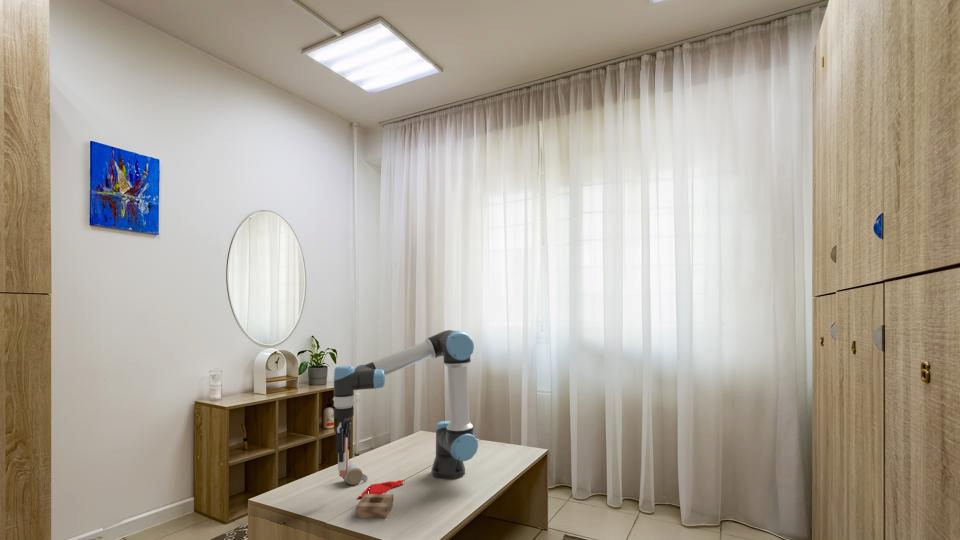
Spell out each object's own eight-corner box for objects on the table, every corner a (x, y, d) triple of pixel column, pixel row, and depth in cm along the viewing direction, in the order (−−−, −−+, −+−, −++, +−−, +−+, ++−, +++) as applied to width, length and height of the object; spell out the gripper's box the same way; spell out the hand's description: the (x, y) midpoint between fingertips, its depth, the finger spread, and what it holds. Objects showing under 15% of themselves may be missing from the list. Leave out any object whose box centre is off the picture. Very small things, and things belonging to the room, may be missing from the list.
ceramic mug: (346, 487, 198) (347, 468, 199) (339, 481, 205) (340, 463, 205) (370, 482, 204) (371, 464, 205) (363, 477, 211) (364, 459, 212)
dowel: (348, 473, 185) (348, 437, 186) (345, 476, 182) (346, 439, 183) (340, 473, 186) (340, 437, 186) (338, 476, 183) (338, 439, 183)
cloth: (399, 478, 211) (399, 473, 211) (416, 487, 200) (416, 482, 201) (343, 493, 193) (343, 488, 194) (359, 504, 183) (359, 498, 183)
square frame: (393, 505, 181) (393, 494, 181) (386, 518, 170) (387, 506, 170) (364, 504, 181) (364, 493, 182) (356, 517, 170) (356, 505, 171)
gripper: (340, 402, 194) (340, 461, 192) (327, 411, 178) (326, 475, 176) (359, 402, 194) (358, 461, 192) (346, 411, 178) (346, 475, 176)
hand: (343, 468), depth 184 cm, fingers closed on dowel, 3 cm apart
